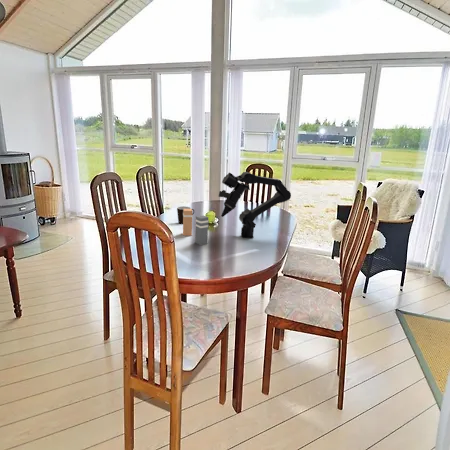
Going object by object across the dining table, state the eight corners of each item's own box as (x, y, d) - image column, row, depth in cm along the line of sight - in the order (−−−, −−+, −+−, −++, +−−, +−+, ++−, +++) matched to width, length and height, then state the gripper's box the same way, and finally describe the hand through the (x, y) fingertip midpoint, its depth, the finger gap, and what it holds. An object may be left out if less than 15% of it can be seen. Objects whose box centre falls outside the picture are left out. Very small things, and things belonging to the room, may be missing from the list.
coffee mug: (177, 225, 209) (177, 209, 206) (175, 221, 217) (176, 206, 214) (196, 225, 212) (196, 209, 209) (193, 221, 220) (194, 206, 217)
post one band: (191, 232, 191) (191, 208, 187) (192, 235, 186) (192, 210, 182) (182, 233, 190) (183, 208, 186) (183, 235, 185) (183, 210, 181)
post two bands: (202, 241, 178) (203, 215, 174) (207, 243, 174) (208, 217, 171) (194, 242, 175) (195, 216, 171) (200, 245, 171) (201, 218, 168)
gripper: (225, 184, 195) (210, 207, 196) (224, 184, 176) (208, 209, 178) (241, 195, 196) (226, 218, 197) (242, 195, 177) (226, 220, 178)
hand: (221, 216), depth 187 cm, fingers closed
